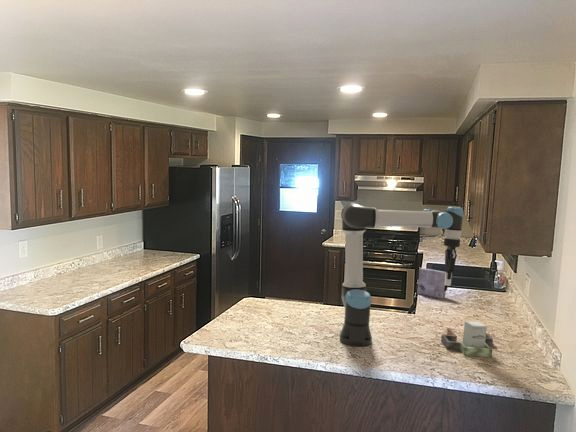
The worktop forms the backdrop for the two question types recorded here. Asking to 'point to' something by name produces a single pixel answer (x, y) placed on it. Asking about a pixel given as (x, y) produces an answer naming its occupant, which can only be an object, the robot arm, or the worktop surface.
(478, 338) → the supplement box
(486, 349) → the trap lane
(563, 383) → the worktop surface
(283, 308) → the worktop surface
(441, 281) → the cake pan box
